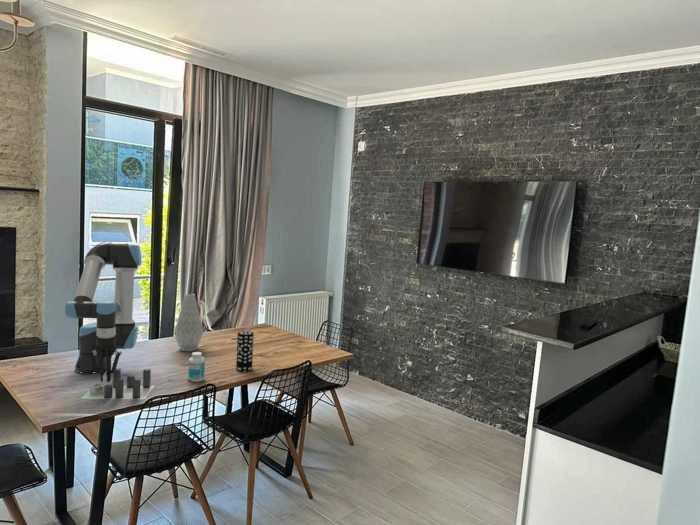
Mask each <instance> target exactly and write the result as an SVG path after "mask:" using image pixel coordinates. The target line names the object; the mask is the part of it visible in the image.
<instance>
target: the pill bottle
mask: <svg viewBox="0 0 700 525" xmlns="http://www.w3.org/2000/svg"><path fill="white" fill-rule="evenodd" d="M202 355H203V352H200V351H195V352H193V351H192V353H191V357H189V359H188V381H189V382H192V383H199V382H202V381H204V379H205V360H206V359H205V357H203V356H202Z"/></svg>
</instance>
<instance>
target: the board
mask: <svg viewBox="0 0 700 525" xmlns="http://www.w3.org/2000/svg"><path fill="white" fill-rule="evenodd" d="M154 387H155V385H150V388H143V385H141V392H140V398H138V399H137V400H146V398H147V397H148V396H149V394H150V393H151V391H152V390H153V388H154ZM132 391H133V388H127V384H125V385H124V393H123V398H121V399H120V400H134V399H133V398H132ZM80 400H106V399H105V398H104V392H103V393H102V394H91V393H90V389H89V390H88V391H87V392H86V393H84V395H83V396H82V397H81V398H80ZM108 400H117V399H116V398H115V388H113V394H112V398H109V399H108Z"/></svg>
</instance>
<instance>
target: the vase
mask: <svg viewBox="0 0 700 525" xmlns="http://www.w3.org/2000/svg"><path fill="white" fill-rule="evenodd" d="M176 321H177V322H176V324H175V327H174V330H173V335H174V337H175V341H176V343H177V345H178V347H179V349H180V351H182V352H193V351H196V350H197V348H198V346H199V344H200V342H201V341H202V337H203V335H204V328H203V326H202V320H201V317H200V312H199V308H198V303H197V299H196V295H195V294H194V293H187V294H184V297H183V300H182V304H181V308H180V311H179V315H178V318H177V320H176Z"/></svg>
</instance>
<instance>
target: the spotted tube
mask: <svg viewBox="0 0 700 525" xmlns="http://www.w3.org/2000/svg"><path fill="white" fill-rule="evenodd" d="M236 342H237V343H236V361H235V362H236V365H235V370H236V371H237V372H239V373H249V371H250V372H252V371H253V358H254V357H253V356H254V331H251V330H250V331H249V330H242V331H238V332H237V339H236Z"/></svg>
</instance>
